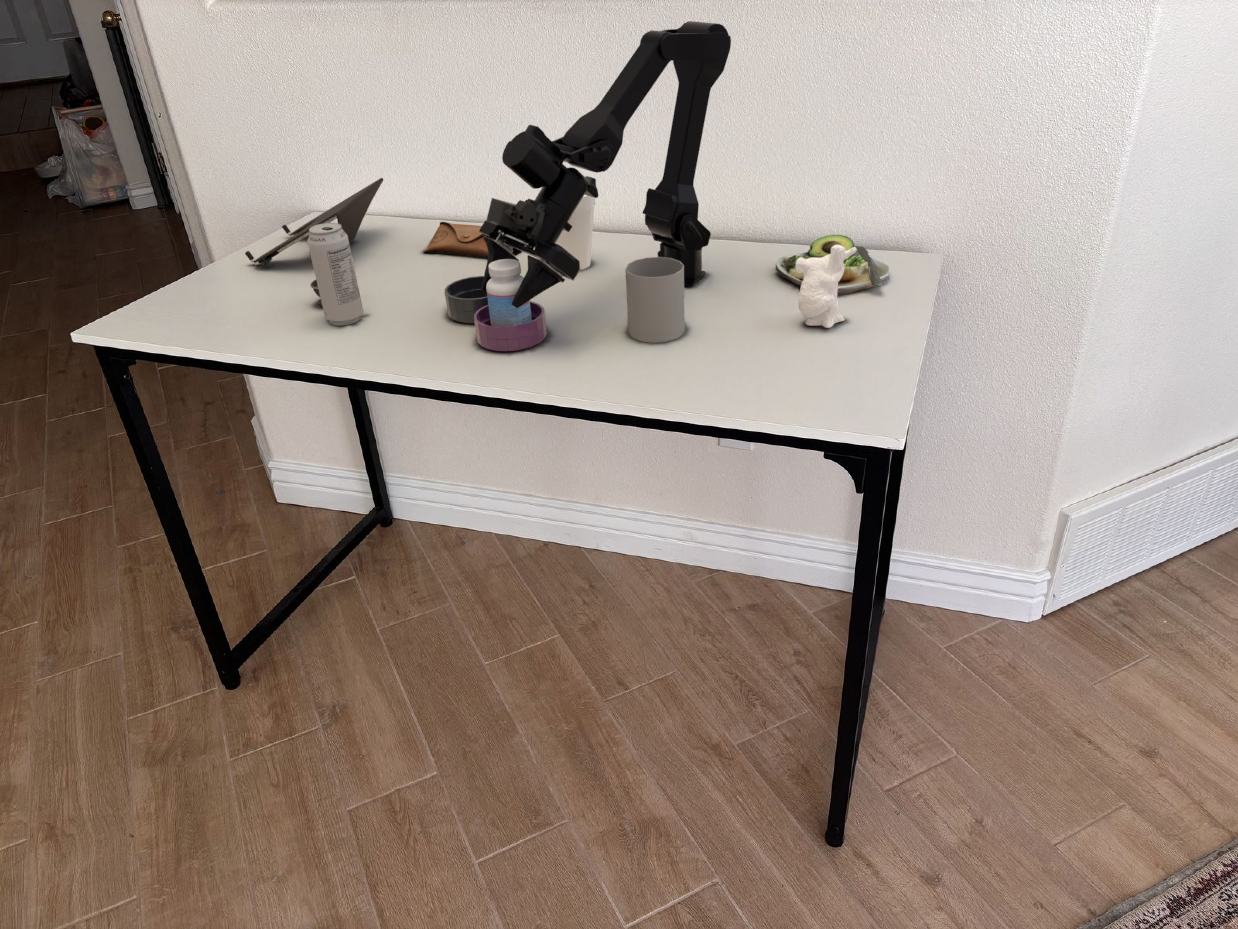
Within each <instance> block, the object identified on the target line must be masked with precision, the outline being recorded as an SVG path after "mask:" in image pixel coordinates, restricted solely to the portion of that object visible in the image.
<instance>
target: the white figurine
mask: <svg viewBox="0 0 1238 929" xmlns="http://www.w3.org/2000/svg"><path fill="white" fill-rule="evenodd" d="M856 251H857V249H856V247H853V248H851V249H849V250H847V251H845V248H844V247H842V246H841V245H834V246H832V247H831V254H828V255H826V256H824V257H822V258H814V257H813V258H808V259H804V258H802V257H800V258H798V259H797V260H796V265H795V266H796V271H797V272H798V273H802V272H803V276H804V279H803V282H802V284H801V286H800V289H799V293H798V298H797V305H798V310H799V312H800V314H801V315H802V316H804V317H806V318H807V319H806V321H805V325H806V326H809V327H810V326H811V327H814V326H815V327H816V326H817V327H818V326H821V327H823V328H825V329H830V328H832V327H833V326H834V325H835V324H837V323H841V322H844V321H845V318H844V316H842V315H841V314H839V313H838V312H837V311H838V307H839V300H838V295H839V294H837V292H838V282H839V281H840V279H841V277H842V275H843V273H844V268H845V267H844V263H843V261H844V260H845V259H847V258H848V257H849V256H851V255H853V254H854V253H855V252H856Z"/></svg>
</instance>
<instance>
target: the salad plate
mask: <svg viewBox="0 0 1238 929" xmlns="http://www.w3.org/2000/svg"><path fill="white" fill-rule="evenodd" d="M834 245H841V246H842V247H844V248H845V251H847V250H849V249H851V248H853V247H856V249H857V251H856V252H855V253H854V254H853V255H851V256H849V257H848V258H847V259H845V260H844V261H843V263H844V267H845V268H844V273H843V275H842V277H841V279H840V281H839V282H838V292H837V294H838V295H846V294H852V293H854V292H858V291H864V290H867V289H870V288H872V287H876V288H877V287H878V288H880V287H883V286H884V283H883V281H884V280H885V279H886V278H888V276H889V275H890V272H891V267H890V266H889V265H888V264H886V263H884V262H882V261H880V260H877V259H876V258H873V257H871V256H870V255H869V251H868V250H867V249H866V248H865V247H864V246H861V245H860V246H859V245H856V244H855V243H854V240H852V239H851V238H850V237H849V236H846V235H843V234H829V235H825V236H822V237H819V238H816V239H814V241H812V243H811V244H809V249H807V250H808V251H806V252H800V253H799V252H798V253H795V254H788V255H785V256H782V257H780V258H778V259H777V260H776V262H775V270H776V272H777V273H778V274H779V276H780V277H782V278H784V279H785V280H787V281H789V282H791V283H792V284H794V285H796V286H800V287H801V284H802V282H803V279H804V276H803V272H802V273H798V272H797V271H796V266H795V265H796V260H797V259H798V258H800V257H802V258H804V259H808V258H813V257H814V258H822V257H824V256H826V255H828V254H831V247H832V246H834Z"/></svg>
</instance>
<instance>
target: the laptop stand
mask: <svg viewBox="0 0 1238 929" xmlns="http://www.w3.org/2000/svg"><path fill="white" fill-rule="evenodd" d="M383 182H384V178H383V177H380V178H378V179H377V180H375V181H374V182H372V183H370V184H368V185H366V186H365V187H363V188H362V189H360V190H358V191H357V192H355V193H353V194H352V195H350V196H348V197H346V198H345V199H344V200H342V201H340V202H339V203H337V204H336V205H334V206H332V207H330V208H329V209H327V210H325V211H324V212H322V213H321V214H319V215H317V216H316V217H314V218H313V219H311V220H309V221H307V222H306V223H304V224H302V225H301V226H300V227H298V228H297V229H295V230H294V231H291V230H290V228H289V227H288V225H287V224H283V225H282V226H281V228H282V229H283V231H284V232H285V233H286V235H287V236H288V237H289V238H288V239H287V240H285V241H283V242H281V243H280V244H279V245H276V246H275V247H273V248H271V249H270V250H268V251H266V252H265V253H263V254H261V255H260V256H259V257H257V258H256V259H255V257H254V255H253V254H252V253H251V252H250V250H247V251H245V253H244V255H245V256H246V257H247V259H248V260H249V261H250V262H251V264H253V265H255V266H259V265H261V266H265V265H266V264H269V262H271V261H273V258H274V257H276V256H278V255H279V254H280V253H282V252H283V251H285V250H287V249H288V248H290V247H291V246H293V245H295V244H296V243H298V242H300V241H302V240H303V239H305V238H306V237H307V238H308V237H309V234H310V232H309V229H310V228H311V227H313V226H315V225H318V224H323V223H333V222H334V221H335V220H336V219H337V223H338V224H341V226H342V229H343V231H344V232H345V233H346V234H347V235H348V240H349V245H350V246H351V245H353V243H354V241H355V239H356V237H357V234H358V232H359V230H360V227H361V225H362V223H363V220H364V218H365V215H366V214H367V212H368V209H369V208H370V206H371V204H372V201H373V200H374V198H375V196H376V195H377V193H378V190H379V189H380V187H381V185H382V184H383Z"/></svg>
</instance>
